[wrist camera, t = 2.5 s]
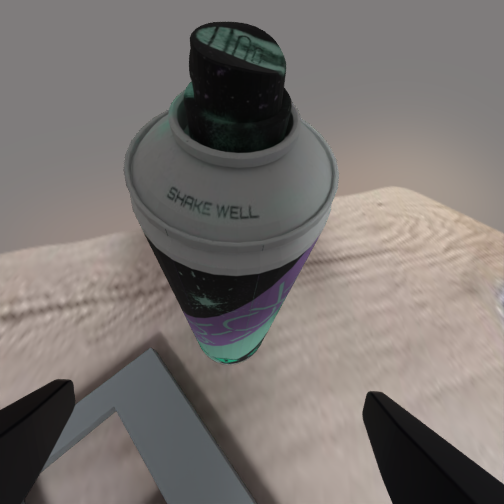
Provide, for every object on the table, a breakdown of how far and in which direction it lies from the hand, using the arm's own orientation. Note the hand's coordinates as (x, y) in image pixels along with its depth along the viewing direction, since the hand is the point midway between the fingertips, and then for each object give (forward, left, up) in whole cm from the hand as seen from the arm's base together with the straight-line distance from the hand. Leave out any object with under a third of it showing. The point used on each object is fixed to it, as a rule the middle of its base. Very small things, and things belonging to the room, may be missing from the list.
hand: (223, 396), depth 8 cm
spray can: (+4, -3, -13) cm, 14 cm away
